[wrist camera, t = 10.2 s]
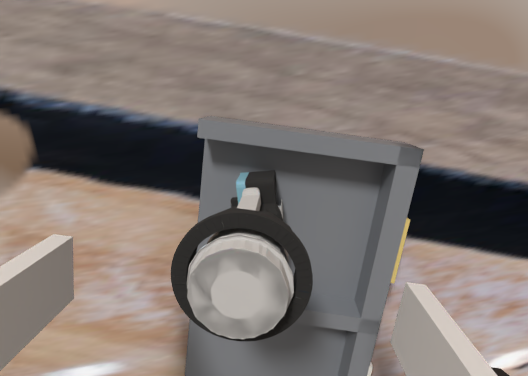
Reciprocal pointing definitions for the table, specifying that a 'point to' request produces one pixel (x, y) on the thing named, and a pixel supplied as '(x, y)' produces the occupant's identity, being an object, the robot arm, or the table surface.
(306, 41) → the table surface
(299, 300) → the push button
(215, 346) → the gray divided compartment tray
